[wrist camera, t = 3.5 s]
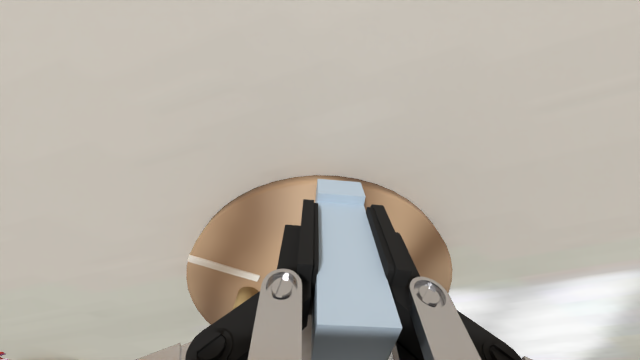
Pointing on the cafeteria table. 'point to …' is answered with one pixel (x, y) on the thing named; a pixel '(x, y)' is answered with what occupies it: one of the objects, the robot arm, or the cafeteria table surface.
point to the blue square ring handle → (350, 281)
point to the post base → (266, 238)
